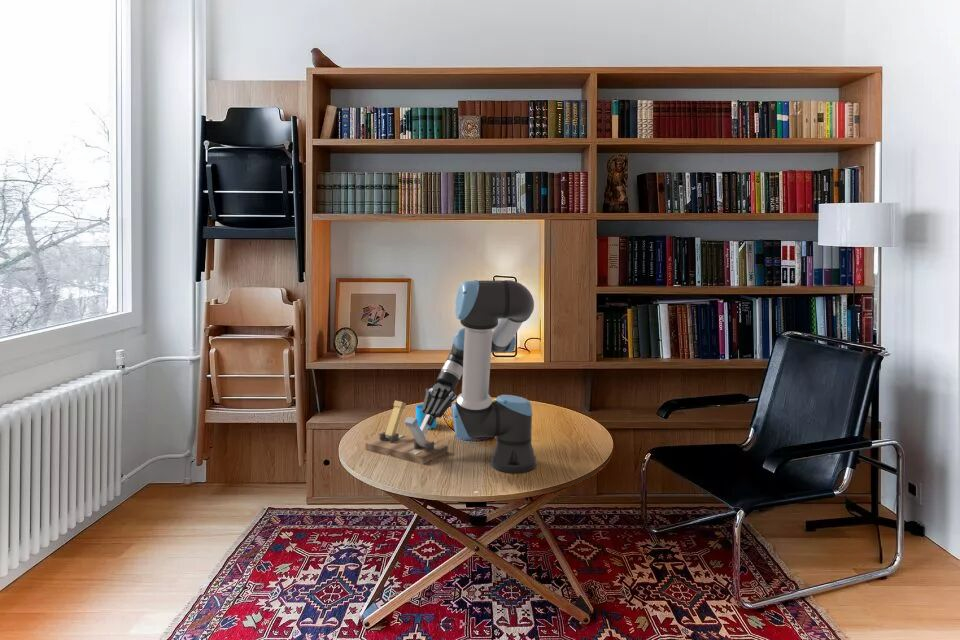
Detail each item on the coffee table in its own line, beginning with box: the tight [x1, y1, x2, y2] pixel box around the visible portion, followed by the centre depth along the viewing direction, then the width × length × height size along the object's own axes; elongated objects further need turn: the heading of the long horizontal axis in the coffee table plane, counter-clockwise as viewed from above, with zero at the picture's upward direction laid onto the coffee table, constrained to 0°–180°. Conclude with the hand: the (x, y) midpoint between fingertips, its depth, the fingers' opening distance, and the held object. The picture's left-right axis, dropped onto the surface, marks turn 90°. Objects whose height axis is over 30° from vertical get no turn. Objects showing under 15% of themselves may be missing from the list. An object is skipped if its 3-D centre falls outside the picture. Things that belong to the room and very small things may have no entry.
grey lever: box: [403, 416, 428, 447], centre depth 223 cm, size 4×2×14 cm
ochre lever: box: [385, 400, 407, 439], centre depth 237 cm, size 4×2×14 cm, turn 57°
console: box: [365, 431, 449, 465], centre depth 231 cm, size 26×14×5 cm, turn 57°
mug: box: [415, 403, 437, 430], centre depth 262 cm, size 12×8×8 cm
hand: (422, 432), depth 225 cm, fingers closed
